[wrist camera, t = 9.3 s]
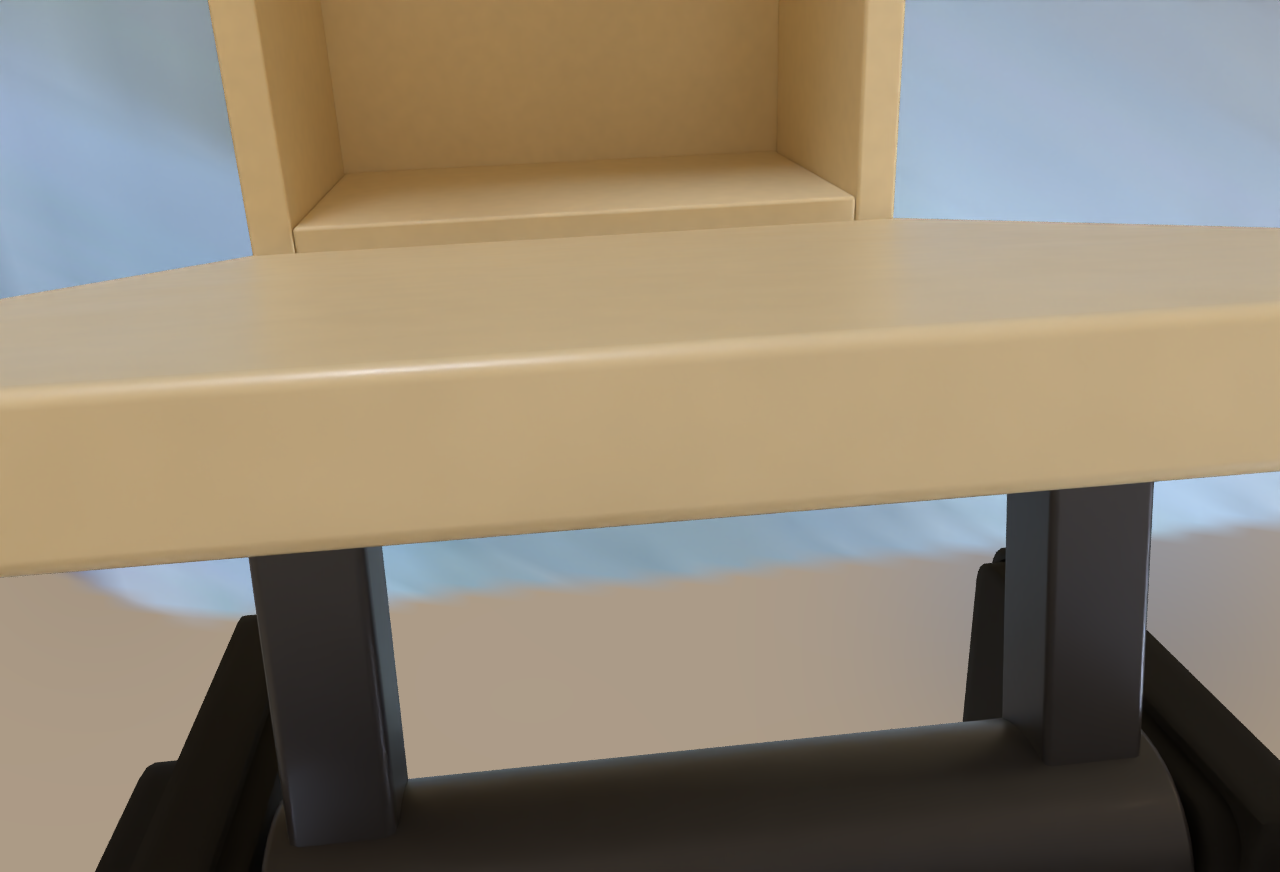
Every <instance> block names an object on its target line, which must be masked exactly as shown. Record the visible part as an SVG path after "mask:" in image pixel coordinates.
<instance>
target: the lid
mask: <svg viewBox="0 0 1280 872" xmlns="http://www.w3.org/2000/svg"><path fill="white" fill-rule="evenodd" d="M1276 471H1280V228H1265V227H1226V226H1187V225H1148V224H1109V223H1070V222H1031V221H992V220H953V219H914V218H891V219H874V220H857V221H840V222H823V223H806V224H789V225H772V226H755V227H738V228H721V229H703V230H686V231H669V232H652V233H635V234H618V235H601V236H584V237H567V238H550V239H533V240H516V241H498V242H481V243H464V244H447V245H430V246H413V247H396V248H379V249H362V250H345V251H328V252H311V253H293V254H276V255H259V256H248V257H242V258H236V259H231V260H225V261H219V262H213V263H207V264H201V265H196V266H190V267H184V268H178V269H172V270H166V271H161V272H155V273H149V274H143V275H137V276H131V277H126V278H120V279H114V280H108V281H102V282H97V283H91V284H85V285H79V286H73V287H67V288H62V289H56V290H50V291H44V292H38V293H32V294H27V295H21V296H15V297H9V298H3V299H0V578H4V577H15V576H26V575H27V576H28V575H39V574H52V573H64V572H76V571H88V570H100V569H112V568H124V567H136V566H148V565H160V564H172V563H184V562H196V561H208V560H220V559H232V558H244V557H249V564H250V571H251V578H252V585H253V593H254V600H255V607H256V614H257V621H258V628H259V635H260V642H261V649H262V656H263V664H264V671H265V678H266V685H267V692H268V699H269V706H270V713H271V720H272V727H273V735H274V742H275V749H276V756H277V763H278V770H279V777H280V784H281V791H282V798H283V799H282V801H281V802H280V804H279V806H278V808H277V810H276V812H275V815H274V818H273V821H272V824H271V827H270V831H269V834H268V838H267V842H266V847H265V852H264V858H263V863H262V871H261V872H1195V870H1194V856H1193V849H1192V841H1191V836H1190V832H1189V827H1188V823H1187V819H1186V815H1185V812H1184V808H1183V805H1182V802H1181V799H1180V796H1179V793H1178V791H1177V788H1176V786H1175V784H1174V781H1173V779H1172V776H1171V774H1170V772H1169V770H1168V768H1167V766H1166V764H1165V762H1164V761H1163V759H1162V757H1161V756H1160V754H1159V752H1158V750H1157V749H1156V747H1155V746H1154V745H1153V743H1152V742H1151V740H1150V739H1149V738H1148V737H1147V735H1146V734H1145V733H1144V732H1143V731H1142V729H1141V723H1142V703H1143V684H1144V664H1145V645H1146V624H1147V604H1148V586H1149V566H1150V548H1151V528H1152V509H1153V489H1154V482H1156V481H1168V480H1180V479H1192V478H1204V477H1216V476H1228V475H1240V474H1252V473H1264V472H1276ZM1000 494H1007V522H1006V570H1005V619H1004V667H1003V716H1002V718H997V719H988V720H978V721H968V722H958V723H949V724H939V725H930V726H920V727H910V728H900V729H890V730H881V731H871V732H861V733H852V734H842V735H832V736H823V737H814V738H804V739H794V740H784V741H774V742H764V743H755V744H746V745H736V746H725V747H716V748H706V749H697V750H687V751H677V752H667V753H657V754H648V755H638V756H629V757H618V758H609V759H599V760H589V761H580V762H570V763H560V764H551V765H542V766H532V767H521V768H512V769H502V770H492V771H483V772H473V773H463V774H453V775H444V776H434V777H424V778H415V779H408V775H407V766H406V758H405V749H404V739H403V731H402V723H401V713H400V704H399V695H398V686H397V677H396V669H395V660H394V650H393V641H392V632H391V623H390V615H389V605H388V597H387V588H386V579H385V570H384V561H383V552H382V546H388V545H400V544H412V543H424V542H436V541H448V540H460V539H472V538H484V537H496V536H508V535H520V534H532V533H544V532H556V531H568V530H580V529H592V528H604V527H616V526H628V525H640V524H652V523H664V522H676V521H688V520H700V519H712V518H724V517H736V516H748V515H760V514H772V513H784V512H796V511H808V510H820V509H832V508H844V507H856V506H868V505H880V504H892V503H904V502H916V501H928V500H940V499H952V498H964V497H976V496H988V495H1000Z"/></svg>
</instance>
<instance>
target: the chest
mask: <svg viewBox="0 0 1280 872" xmlns="http://www.w3.org/2000/svg"><path fill="white" fill-rule="evenodd" d="M208 4H209V10H210V15H211V21H212V27H213V32H214V38H215V44H216V49H217V55H218V61H219V66H220V72H221V78H222V83H223V89H224V94H225V100H226V106H227V111H228V117H229V123H230V128H231V134H232V140H233V145H234V151H235V156H236V162H237V168H238V173H239V179H240V185H241V190H242V196H243V202H244V207H245V213H246V218H247V224H248V230H249V235H250V241H251V247H252V252H253V256H259V255H276V254H293V253H311V252H328V251H345V250H362V249H379V248H396V247H413V246H430V245H447V244H464V243H481V242H498V241H516V240H533V239H550V238H567V237H584V236H601V235H618V234H635V233H652V232H669V231H686V230H703V229H721V228H738V227H755V226H772V225H789V224H806V223H823V222H840V221H857V220H874V219H891V218H893V211H894V193H895V175H896V157H897V139H898V122H899V104H900V86H901V68H902V50H903V33H904V15H905V0H208Z"/></svg>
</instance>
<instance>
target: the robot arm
mask: <svg viewBox="0 0 1280 872" xmlns="http://www.w3.org/2000/svg"><path fill="white" fill-rule="evenodd" d="M1005 570H1006V548H1001V549H1000V550H998V551H997V552H996V554H995V556H994V558H993V562H992V563H988V564H983V565H982V566H981V567H980V569H979V571H978V575H977V580H976V592H975V601H974V612H973V622H972V632H971V642H970V653H969V663H968V673H967V683H966V693H965V703H964V714H963V722H968V721H978V720H988V719H997V718H1002V716H1003V667H1004V619H1005ZM1141 729H1142V731H1143V732H1144V733H1145V734H1146V735H1147V737H1148V738H1149V739H1150V740H1151V742H1152V743H1153V745H1154V746H1155V747H1156V749H1157V750H1158V752H1159V754H1160V756H1161V757H1162V759H1163V761H1164V762H1165V764H1166V766H1167V768H1168V770H1169V772H1170V774H1171V776H1172V779H1173V781H1174V784H1175V786H1176V788H1177V791H1178V793H1179V796H1180V799H1181V802H1182V805H1183V808H1184V812H1185V815H1186V819H1187V823H1188V827H1189V832H1190V836H1191V841H1192V849H1193V856H1194V870H1195V872H1280V760H1279V759H1278V758H1277V757H1276V756H1275V755H1273V753H1272V752H1271V751H1270V750H1269V749H1268V748H1267V747H1266V746H1264V745H1263V744H1262V743H1261V742H1260V741H1259V740H1258V739H1257V738H1256V737H1255V736H1254V735H1253V734H1252V733H1251V732H1250V731H1249V730H1248V729H1247V728H1246V727H1245V726H1244V725H1243V724H1242V723H1241V722H1240V721H1239V720H1238V719H1237V718H1236V717H1235V716H1234V715H1233V714H1232V713H1231V712H1230V711H1229V710H1228V709H1227V708H1226V707H1225V706H1224V705H1223V704H1222V703H1221V702H1220V701H1219V700H1218V699H1217V698H1216V697H1215V696H1214V695H1213V694H1212V693H1210V692H1209V691H1208V690H1207V689H1206V688H1205V687H1204V686H1203V685H1202V684H1201V683H1200V682H1199V681H1198V680H1197V679H1196V678H1195V677H1194V676H1193V675H1192V674H1191V673H1190V672H1189V671H1188V670H1187V669H1186V668H1185V667H1184V666H1183V665H1182V664H1181V663H1180V662H1179V661H1178V660H1177V659H1176V658H1175V657H1174V656H1173V655H1172V654H1171V653H1170V652H1169V651H1168V650H1167V649H1166V648H1165V647H1164V646H1163V645H1162V644H1161V643H1159V641H1158V640H1156V639H1155V638H1154V637H1153V636H1152V635H1151V634H1150V633H1149V632H1148V631H1147V630H1146V645H1145V664H1144V684H1143V703H1142V723H1141ZM282 799H283V798H282V791H281V784H280V777H279V770H278V763H277V756H276V749H275V742H274V735H273V727H272V720H271V713H270V706H269V699H268V692H267V685H266V678H265V671H264V664H263V656H262V649H261V642H260V635H259V628H258V621H257V615H247V616H243V617H241V618H240V620H239V622H238V623H237V626H236V628H235V630H234V633H233V635H232V637H231V640H230V642H229V644H228V646H227V649H226V651H225V653H224V655H223V658H222V660H221V662H220V665H219V667H218V669H217V671H216V674H215V676H214V678H213V680H212V683H211V685H210V687H209V690H208V692H207V695H206V696H205V699H204V701H203V704H202V706H201V708H200V710H199V712H198V715H197V717H196V719H195V722H194V724H193V726H192V728H191V731H190V733H189V735H188V738H187V740H186V742H185V745H184V747H183V749H182V751H181V754H180V756H179V758H178V760H177V761H167V762H157V763H154V764H152V765H150V766H149V767H147V768H146V770H145V771H144V773H143V774H142V776H141V777H140V779H139V780H138V783H137V785H136V787H135V789H134V791H133V793H132V795H131V798H130V799H129V801H128V804H127V806H126V808H125V810H124V812H123V814H122V816H121V818H120V820H119V822H118V824H117V827H116V829H115V831H114V833H113V835H112V837H111V839H110V841H109V844H108V846H107V848H106V850H105V852H104V854H103V856H102V858H101V860H100V862H99V864H98V867H97V869H96V871H95V872H261V871H262V863H263V858H264V852H265V847H266V842H267V838H268V834H269V831H270V827H271V824H272V821H273V818H274V815H275V812H276V810H277V808H278V806H279V804H280V802H281V801H282Z"/></svg>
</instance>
